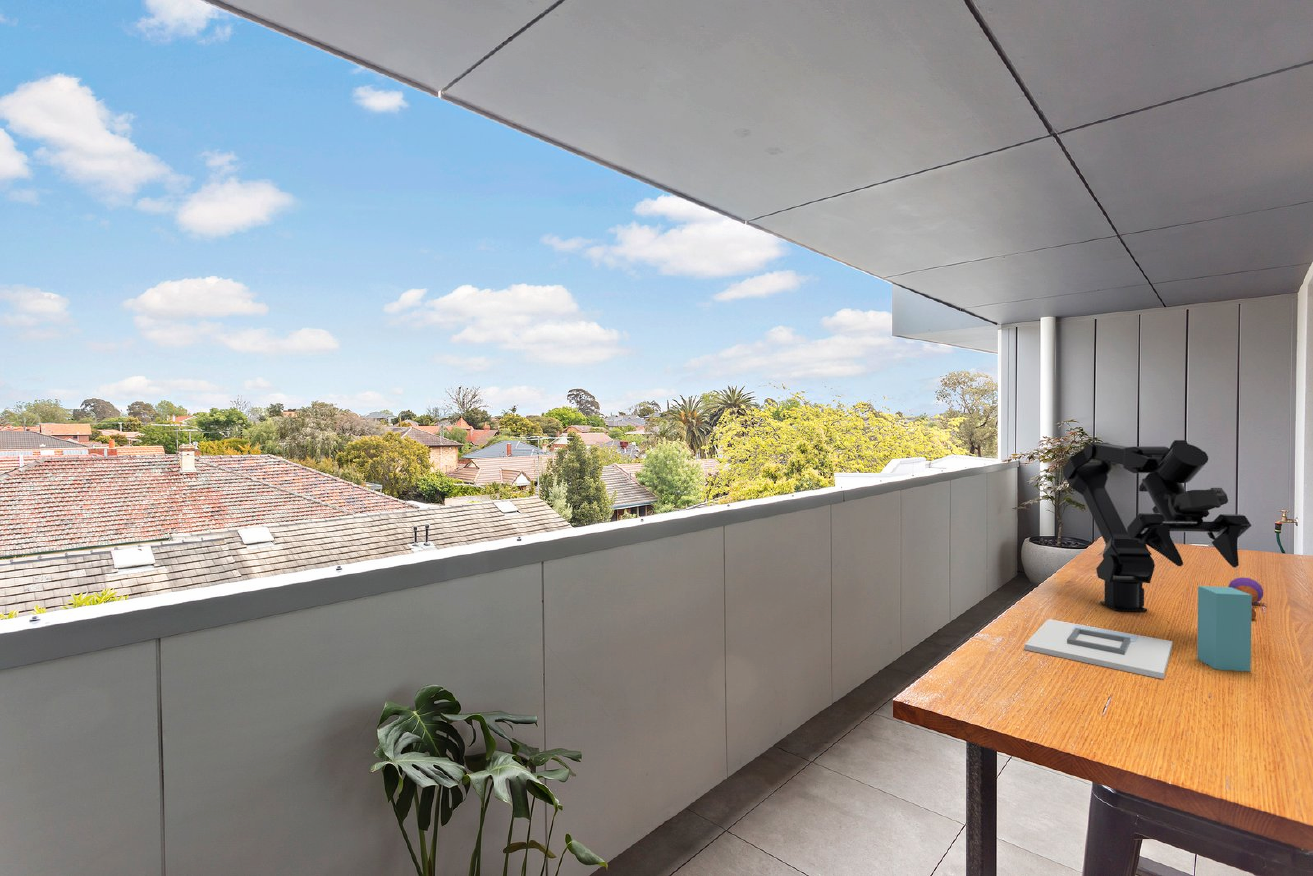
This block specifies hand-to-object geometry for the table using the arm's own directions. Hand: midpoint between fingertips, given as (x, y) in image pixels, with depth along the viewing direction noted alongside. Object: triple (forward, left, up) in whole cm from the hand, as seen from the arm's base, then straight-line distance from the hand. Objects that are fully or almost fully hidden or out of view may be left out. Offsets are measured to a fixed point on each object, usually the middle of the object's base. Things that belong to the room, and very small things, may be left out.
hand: (1208, 565), depth 115 cm
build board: (-20, -1, -15) cm, 25 cm away
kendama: (+28, +25, -16) cm, 41 cm away
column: (-4, -8, -15) cm, 18 cm away
